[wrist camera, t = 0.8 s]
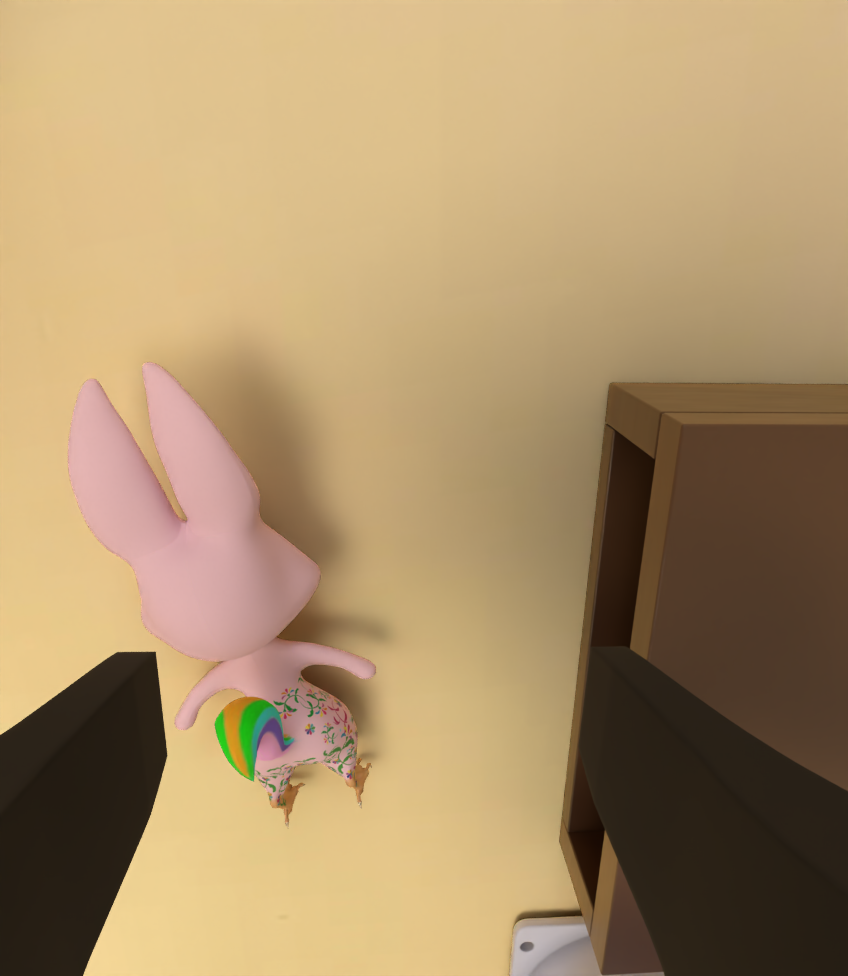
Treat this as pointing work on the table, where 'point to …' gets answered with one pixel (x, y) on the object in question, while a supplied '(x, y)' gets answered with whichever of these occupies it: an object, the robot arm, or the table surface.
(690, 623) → the wooden cubby shelf
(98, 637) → the table surface
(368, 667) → the rabbit figure
